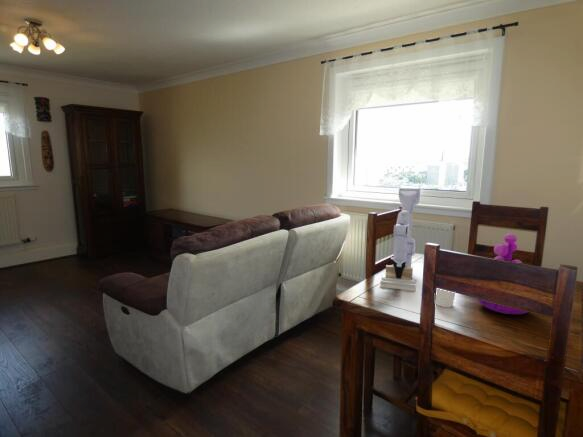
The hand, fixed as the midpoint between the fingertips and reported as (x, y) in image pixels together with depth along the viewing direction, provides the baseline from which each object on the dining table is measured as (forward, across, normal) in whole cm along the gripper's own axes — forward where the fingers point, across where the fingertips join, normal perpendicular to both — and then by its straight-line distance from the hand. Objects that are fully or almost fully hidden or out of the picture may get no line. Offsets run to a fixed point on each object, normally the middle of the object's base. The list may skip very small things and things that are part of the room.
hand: (398, 277), depth 162 cm
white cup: (+2, +22, +18) cm, 29 cm away
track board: (+2, +8, 0) cm, 8 cm away
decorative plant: (+2, +20, +39) cm, 44 cm away
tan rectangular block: (+2, 0, 0) cm, 2 cm away
